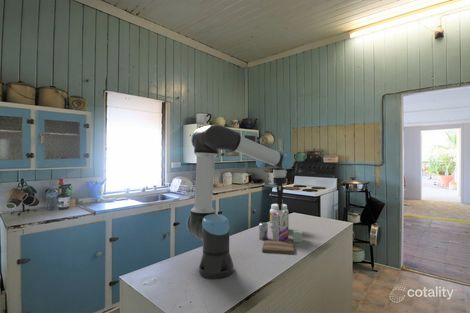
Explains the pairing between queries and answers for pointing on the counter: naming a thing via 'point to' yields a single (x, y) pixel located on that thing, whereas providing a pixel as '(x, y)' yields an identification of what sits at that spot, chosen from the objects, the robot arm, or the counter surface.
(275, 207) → the supplement tub
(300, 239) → the sage block
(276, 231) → the candy bar box
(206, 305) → the counter surface
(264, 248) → the board
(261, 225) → the grey tin
